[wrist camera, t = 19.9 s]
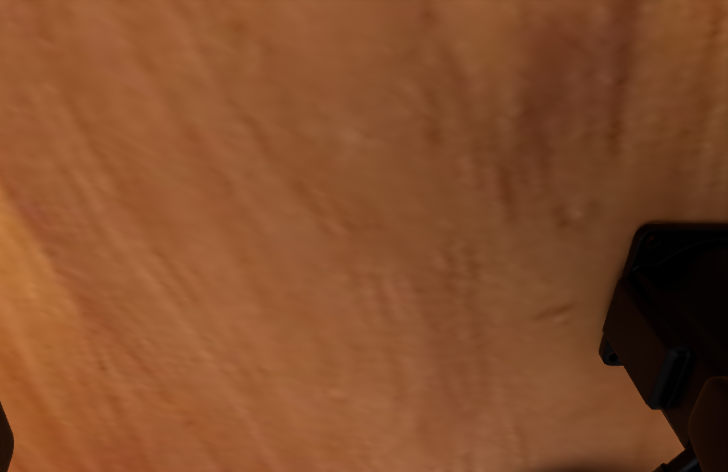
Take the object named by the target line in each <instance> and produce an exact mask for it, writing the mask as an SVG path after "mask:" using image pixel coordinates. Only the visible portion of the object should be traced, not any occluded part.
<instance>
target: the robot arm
mask: <svg viewBox="0 0 728 472" xmlns="http://www.w3.org/2000/svg"><path fill="white" fill-rule="evenodd" d="M654 235H655V236H654ZM650 236H654V237H653V239H651V240H650V241H647V242H646V240H647V239H648V238H649V237H650ZM603 333H604V335H603V338H602V342H601V345H600V348H599V355H600V357H601V359H602V360H603V362H604V364H606V365H610V366H624V368H625V369H626V371H627V373H628V374H629V376H630V378H631V380H632V381H633V383H634V385H635V386H636V388H637V390H638V391H639V393H640V395H641V396H642V398H643V400H644V401H645V403H646V404H647V405H648V406H649V407H650V408H651V409H652V410H661V411H662V413H663V414H664V416H665V417H666V419H667V421H668V422H669V424H670V426H671V427H672V429H673V430H674V432H675V434H676V435H677V437H678V439H679V440H680V442H681V443H682V445H683V447H684V448H685V450H684V451H682V452H681V453H680V454H679V455H677V456H676V457H675V458H674V459H672V460H671V461H670V462H669V463H667V464H665V463H662V464H661V465H660V466H659V467H657V468H656V469H655V470H654V471H652V472H728V224H647V225H644V226H642V227H641V228H640V229H639V230H637V232H636V234H635V235H634V238H633V242H632V245H631V248H630V251H629V255H628V258H627V261H626V264H625V267H624V271H623V274H622V277H621V278H620V279H619V280H618V282H617V285H616V288H615V291H614V294H613V298H612V301H611V304H610V307H609V311H608V314H607V317H606V320H605V324H604V327H603ZM613 352H615V353H613ZM611 353H613V354H611ZM13 449H14V437H13V433H12V430H11V428H10V425H9V423H8V420H7V417H6V415H5V412H4V410H3V407H2V405H1V402H0V472H7V471H8V468H9V464H10V461H11V458H12V454H13Z"/></svg>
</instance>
